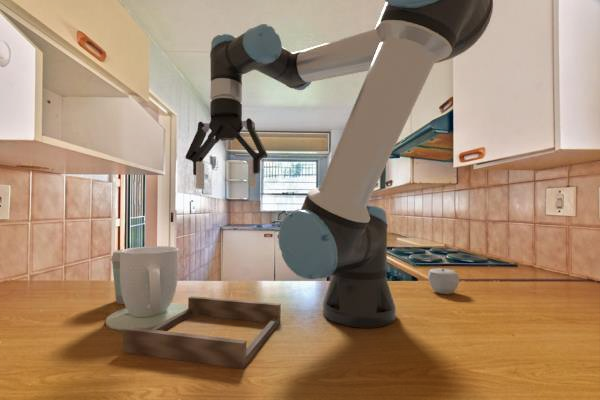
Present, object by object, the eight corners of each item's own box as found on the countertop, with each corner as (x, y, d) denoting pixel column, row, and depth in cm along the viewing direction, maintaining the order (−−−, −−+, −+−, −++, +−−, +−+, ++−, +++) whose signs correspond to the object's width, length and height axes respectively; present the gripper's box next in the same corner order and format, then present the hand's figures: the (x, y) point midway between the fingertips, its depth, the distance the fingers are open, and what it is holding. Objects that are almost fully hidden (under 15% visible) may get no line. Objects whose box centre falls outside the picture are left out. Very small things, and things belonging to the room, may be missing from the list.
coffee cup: (121, 308, 65) (122, 254, 66) (102, 301, 70) (103, 251, 70) (157, 298, 73) (158, 250, 73) (138, 293, 77) (139, 247, 78)
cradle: (280, 321, 59) (280, 303, 59) (243, 369, 41) (243, 343, 41) (190, 312, 63) (191, 296, 63) (122, 352, 46) (123, 329, 46)
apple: (462, 292, 81) (462, 268, 81) (456, 298, 75) (456, 272, 75) (431, 287, 86) (431, 264, 86) (423, 293, 80) (423, 268, 80)
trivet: (201, 307, 66) (201, 305, 66) (155, 335, 52) (155, 331, 52) (144, 302, 70) (144, 299, 70) (85, 326, 55) (85, 323, 55)
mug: (186, 321, 57) (188, 253, 57) (119, 334, 51) (121, 257, 51) (172, 300, 69) (173, 245, 70) (117, 309, 63) (119, 247, 64)
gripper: (279, 104, 74) (279, 188, 73) (188, 110, 79) (187, 190, 78) (271, 92, 67) (271, 185, 66) (171, 100, 71) (170, 187, 70)
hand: (226, 188), depth 72 cm, fingers open, 13 cm apart
